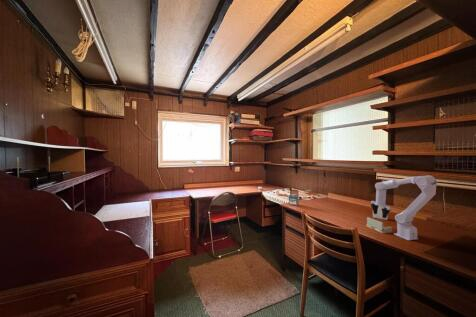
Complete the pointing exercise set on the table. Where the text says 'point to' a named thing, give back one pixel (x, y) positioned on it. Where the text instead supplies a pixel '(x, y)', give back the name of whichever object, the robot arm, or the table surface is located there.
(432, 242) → the table surface
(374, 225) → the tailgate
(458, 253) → the table surface
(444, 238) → the table surface
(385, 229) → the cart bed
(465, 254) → the table surface
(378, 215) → the photo printer
